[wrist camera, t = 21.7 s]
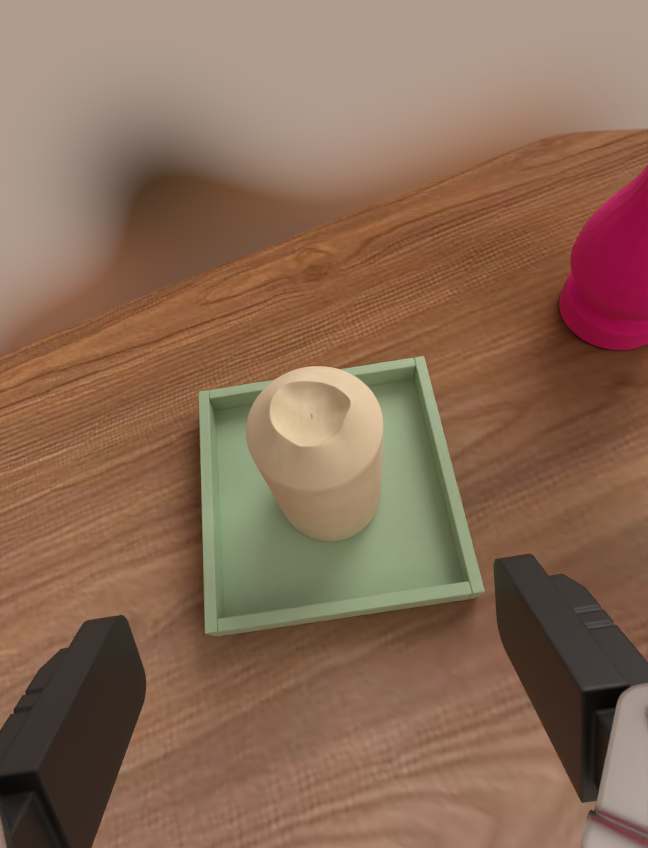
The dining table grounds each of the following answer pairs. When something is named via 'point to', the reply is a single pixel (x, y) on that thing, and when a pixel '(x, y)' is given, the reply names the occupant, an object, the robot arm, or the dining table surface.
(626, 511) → the dining table surface
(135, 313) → the dining table surface
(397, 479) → the tray
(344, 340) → the dining table surface
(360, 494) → the candle
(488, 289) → the dining table surface
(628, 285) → the pepper mill
